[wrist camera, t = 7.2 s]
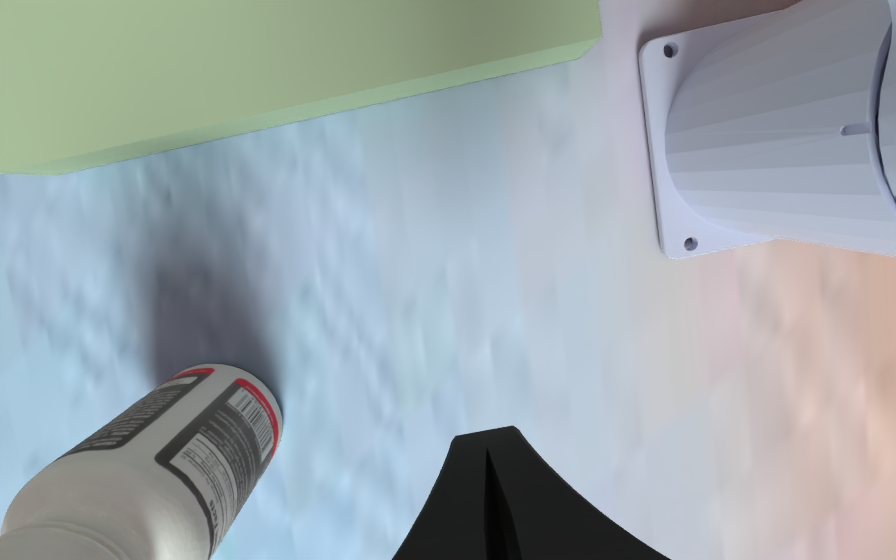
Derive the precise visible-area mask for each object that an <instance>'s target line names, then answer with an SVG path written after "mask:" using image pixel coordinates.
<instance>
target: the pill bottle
mask: <svg viewBox="0 0 896 560" xmlns="http://www.w3.org/2000/svg"><path fill="white" fill-rule="evenodd" d="M282 425H283V424H282V416H281V412H280V409H279V406H278V404H277V402H276V400H275V398H274V396H273V395H272V393H271V392H270V391H269V389H268V388H267V387H266V386H265V385H264V384H263V383H262V382H261V381H260V380H258V379H257V378H256V377H255V376H253V375H252V374H250V373H248V372H246V371H244V370H242V369H240V368H236V367H233V366H228V365H223V364H201V365H197V366H194V367H191V368H187V369H185V370H183V371H181V372H180V373H178V374H176V375H175V376H173V377H172V378H170V379H169V380H167V381H166V382H164V383H163V384H161V385H160V386H159V387H157V388H156V389H154V390H153V391H152V392H150V393H149V394H148V395H146V396H145V397H143V398H142V399H140V400H139V401H137V402H136V403H135V404H133V405H132V406H131V407H129V408H128V409H127V410H125V411H124V412H123V413H121V414H120V415H119V416H117V417H116V418H115V419H113V420H112V421H111V422H109V423H108V424H107V425H105V426H103V427H102V428H101V429H99V430H98V431H97V432H95V433H94V434H92V435H91V436H90V437H88V438H87V439H85V440H84V441H82V442H81V443H79V444H78V445H77V446H75V447H74V448H72V449H71V450H70V451H68V452H67V453H65V454H64V455H62V456H61V457H59V458H58V459H56V460H55V461H54V462H52V463H51V464H49V465H48V466H47V467H45V468H44V469H43V470H42V471H40V472H39V473H38V474H37V475H36V476H34V477H33V478H32V479H31V480H30V481H29V482H27V484H26V485H25V486H24V487H23V488H22V489H21V490H20V491H19V492H18V494H17V495H16V496H15V498H14V499H13V501H12V503H11V504H10V506H9V508H8V510H7V512H6V515H5V517H4V521H3V525H2V529H1V535H0V560H210V559H211V557H212V556H213V554H214V553H215V551H216V549H217V548H218V546H219V544H220V543H221V541H222V539H223V538H224V536H225V535H226V533H227V531H228V530H229V528H230V526H231V525H232V523H233V521H234V520H235V518H236V516H237V515H238V513H239V512H240V510H241V508H242V507H243V505H244V504H245V502H246V500H247V499H248V497H249V495H250V494H251V492H252V490H253V489H254V487H255V486H256V484H257V482H258V481H259V479H260V477H261V476H262V474H263V473H264V471H265V470H266V468H267V466H268V465H269V463H270V461H271V459H272V458H273V456H274V454H275V453H276V450H277V448H278V446H279V444H280V441H281V436H282Z"/></svg>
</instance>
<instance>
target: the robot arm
mask: <svg viewBox="0 0 896 560" xmlns="http://www.w3.org/2000/svg"><path fill="white" fill-rule="evenodd" d="M665 45H669V46H670V47H672V50H673V56H672V57H671V58H668V57H666V56H665V55H664V52H663V50H664V46H665ZM639 67H640V76H641V84H642V93H643V101H644V110H645V118H646V127H647V135H648V144H649V152H650V161H651V170H652V178H653V187H654V195H655V204H656V212H657V221H658V229H659V238H660V246H661V251H662V253H663V254H664V255H665V256H666V257H668V258H671V259H682V258H687V257H692V256H697V255H702V254H707V253H711V252H716V251H721V250H726V249H731V248H736V247H740V246H745V245H750V244H755V243H760V242H765V241H769V240H774V239H779V238H781V239H787V240H794V241H800V242H806V243H812V244H818V245H824V246H831V247H837V248H843V249H849V250H855V251H861V252H868V253H874V254H880V255H886V256H892V257H896V0H802V1H800V2H798V3H796V4H794V5H792V6H790V7H788V8H787V9H783V10H779V11H774V12H770V13H765V14H761V15H756V16H752V17H747V18H743V19H738V20H734V21H729V22H725V23H721V24H716V25H712V26H707V27H703V28H698V29H694V30H689V31H685V32H680V33H676V34H671V35H667V36H663V37H658V38H654V39H652V40H650V41H648V42H647V43H645V44H644V45H643V46H642V47H641V49H640V52H639ZM688 238H691V239H692V241H693V242H692V246H691V247H690V248H688V249H685V247H684V242H685V241H686V239H688ZM392 560H671V559H669V558H667V557H666V556H664V555H662V554H661V553H659V552H657V551H656V550H654V549H652V548H651V547H649V546H648V545H646V544H645V543H643V542H642V541H640V540H639V539H637V538H636V537H634V536H633V535H632V534H630V533H629V532H627V531H626V530H624V529H623V528H622V527H620V526H619V525H617V524H616V523H615V522H613V521H612V520H611V519H609V518H608V517H607V516H606V515H604V514H603V513H602V512H600V511H599V510H598V509H597V508H595V507H594V506H593V505H592V504H591V503H589V502H588V501H587V500H586V499H585V498H584V497H582V496H581V495H580V494H579V493H578V492H577V491H575V490H574V489H573V488H572V487H571V486H570V485H569V484H568V483H567V482H566V481H565V480H564V479H562V478H561V477H560V476H559V475H558V474H557V473H556V472H555V471H554V470H553V469H552V468H551V467H550V466H549V465H548V464H547V463H546V462H545V461H544V460H543V459H542V457H541V456H540V455H539V454H538V453H537V452H536V451H535V450H534V449H533V447H532V446H531V445H530V444H529V443H528V441H527V440H526V439H525V438H524V436H523V435H522V433H521V432H520V430H519V429H517V428H516V427H514V426H508V427H502V428H497V429H491V430H486V431H480V432H475V433H469V434H464V435H458V436H455V438H454V439H453V440H452V442H451V445H450V448H449V451H448V454H447V457H446V459H445V462H444V464H443V467H442V469H441V471H440V474H439V476H438V478H437V480H436V482H435V484H434V486H433V488H432V491H431V493H430V495H429V497H428V499H427V501H426V503H425V505H424V507H423V508H422V510H421V512H420V514H419V516H418V517H417V519H416V521H415V523H414V524H413V526H412V528H411V530H410V531H409V533H408V535H407V537H406V538H405V540H404V541H403V543H402V545H401V546H400V548H399V549H398V551H397V552H396V554H395V555H394V557H393V558H392Z"/></svg>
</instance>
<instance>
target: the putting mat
mask: <svg viewBox="0 0 896 560" xmlns="http://www.w3.org/2000/svg"><path fill="white" fill-rule="evenodd" d="M602 37H603V36H602V29H601V21H600V13H599V6H598V0H0V174H28V175H61V174H65V173H70V172H74V171H78V170H83V169H87V168H92V167H96V166H101V165H105V164H110V163H114V162H119V161H123V160H128V159H132V158H137V157H141V156H145V155H150V154H154V153H159V152H163V151H168V150H172V149H177V148H181V147H186V146H190V145H195V144H199V143H204V142H208V141H212V140H217V139H221V138H226V137H230V136H235V135H239V134H244V133H248V132H253V131H257V130H262V129H266V128H270V127H275V126H279V125H284V124H288V123H293V122H297V121H302V120H306V119H311V118H315V117H320V116H324V115H329V114H333V113H337V112H342V111H346V110H351V109H355V108H360V107H364V106H369V105H373V104H378V103H382V102H387V101H391V100H396V99H400V98H404V97H409V96H413V95H418V94H422V93H427V92H431V91H436V90H440V89H445V88H449V87H454V86H458V85H462V84H467V83H471V82H476V81H480V80H485V79H489V78H494V77H498V76H503V75H507V74H512V73H516V72H521V71H525V70H529V69H534V68H538V67H543V66H547V65H552V64H556V63H561V62H565V61H570V60H574V59H579V58H580V57H581V56H582V55H583V54H585V53H586V52H587V51H588V50H589V49H590V48H591V47H592V46H593V45H594V44H595V43H596V42H597V41H599V40H600V39H601V38H602Z"/></svg>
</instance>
